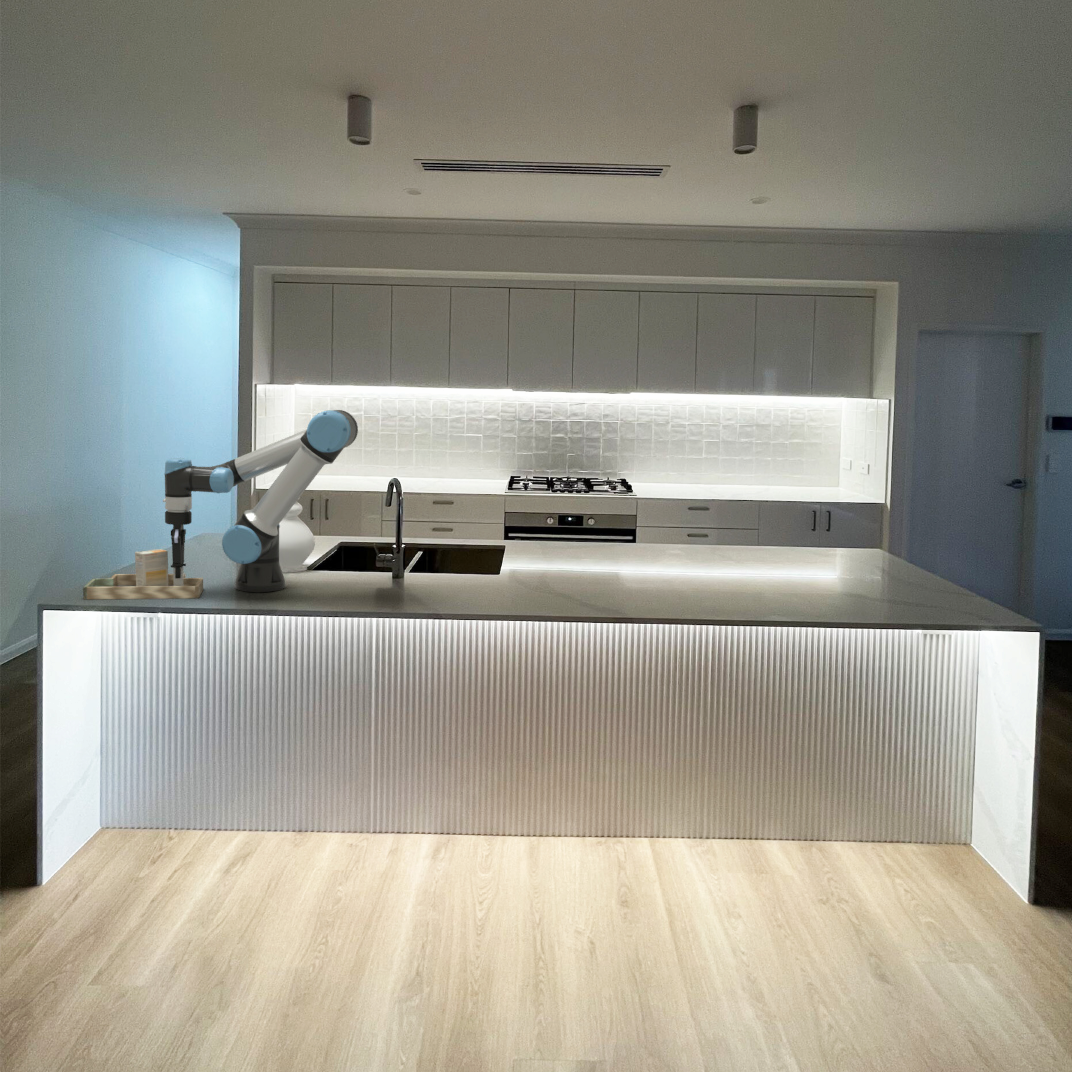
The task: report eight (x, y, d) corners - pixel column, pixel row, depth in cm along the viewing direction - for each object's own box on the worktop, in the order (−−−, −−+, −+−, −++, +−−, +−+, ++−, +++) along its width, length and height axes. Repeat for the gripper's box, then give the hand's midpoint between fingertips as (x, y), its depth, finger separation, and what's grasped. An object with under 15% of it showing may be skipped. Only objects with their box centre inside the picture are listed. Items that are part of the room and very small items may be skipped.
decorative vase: (265, 564, 378) (265, 493, 374) (317, 565, 380) (317, 494, 376) (258, 573, 360) (257, 499, 357) (312, 574, 362) (312, 500, 359)
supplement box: (160, 591, 327) (159, 548, 325) (169, 593, 324) (168, 550, 322) (135, 594, 321) (134, 551, 319) (144, 597, 318) (143, 553, 316)
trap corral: (205, 584, 339) (205, 573, 338) (198, 598, 318) (198, 586, 318) (97, 585, 332) (97, 574, 332) (83, 599, 312) (83, 587, 311)
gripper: (167, 507, 326) (168, 584, 329) (162, 513, 313) (162, 592, 317) (193, 508, 327) (193, 584, 331) (189, 513, 315) (189, 592, 318)
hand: (178, 588), depth 324 cm, fingers closed
